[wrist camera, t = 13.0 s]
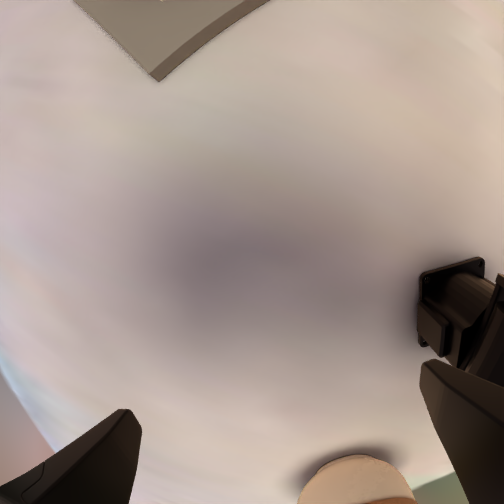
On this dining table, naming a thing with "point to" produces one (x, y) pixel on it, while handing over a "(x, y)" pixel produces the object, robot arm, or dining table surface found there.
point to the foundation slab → (165, 27)
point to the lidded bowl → (357, 483)
